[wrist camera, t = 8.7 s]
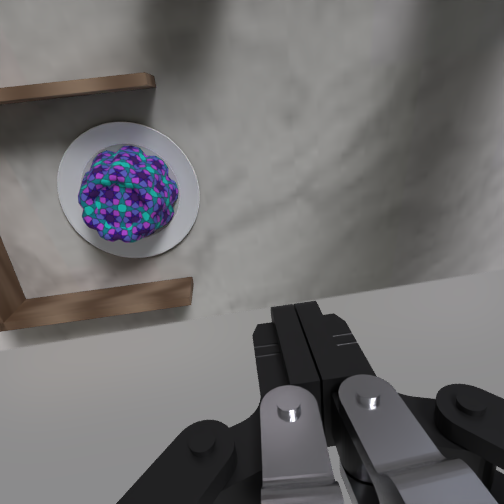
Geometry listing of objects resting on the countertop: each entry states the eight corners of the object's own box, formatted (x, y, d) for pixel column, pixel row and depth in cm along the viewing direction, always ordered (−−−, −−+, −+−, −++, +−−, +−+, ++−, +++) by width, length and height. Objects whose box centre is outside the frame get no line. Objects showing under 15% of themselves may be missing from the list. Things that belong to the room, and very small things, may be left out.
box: (154, 76, 28) (144, 72, 25) (193, 284, 36) (191, 305, 32) (-67, 100, 27) (-110, 100, 24) (20, 307, 35) (-3, 331, 31)
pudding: (205, 130, 31) (203, 136, 26) (195, 259, 35) (192, 285, 30) (55, 112, 29) (23, 114, 24) (65, 249, 33) (39, 274, 29)
